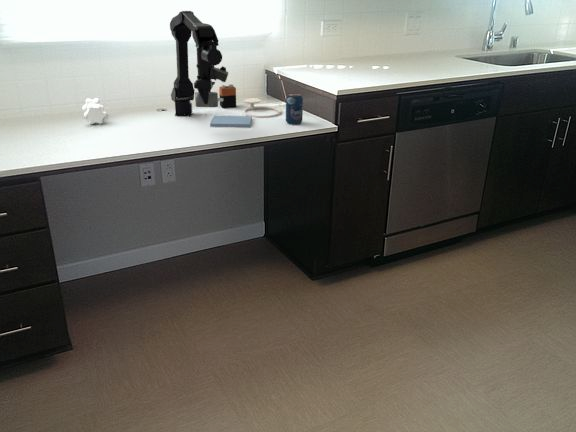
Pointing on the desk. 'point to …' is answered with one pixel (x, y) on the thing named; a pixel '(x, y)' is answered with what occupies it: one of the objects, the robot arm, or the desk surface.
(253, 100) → the hand towel holder
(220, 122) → the pad
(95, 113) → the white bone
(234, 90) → the battery
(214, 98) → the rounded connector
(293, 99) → the soda can
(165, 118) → the desk surface
